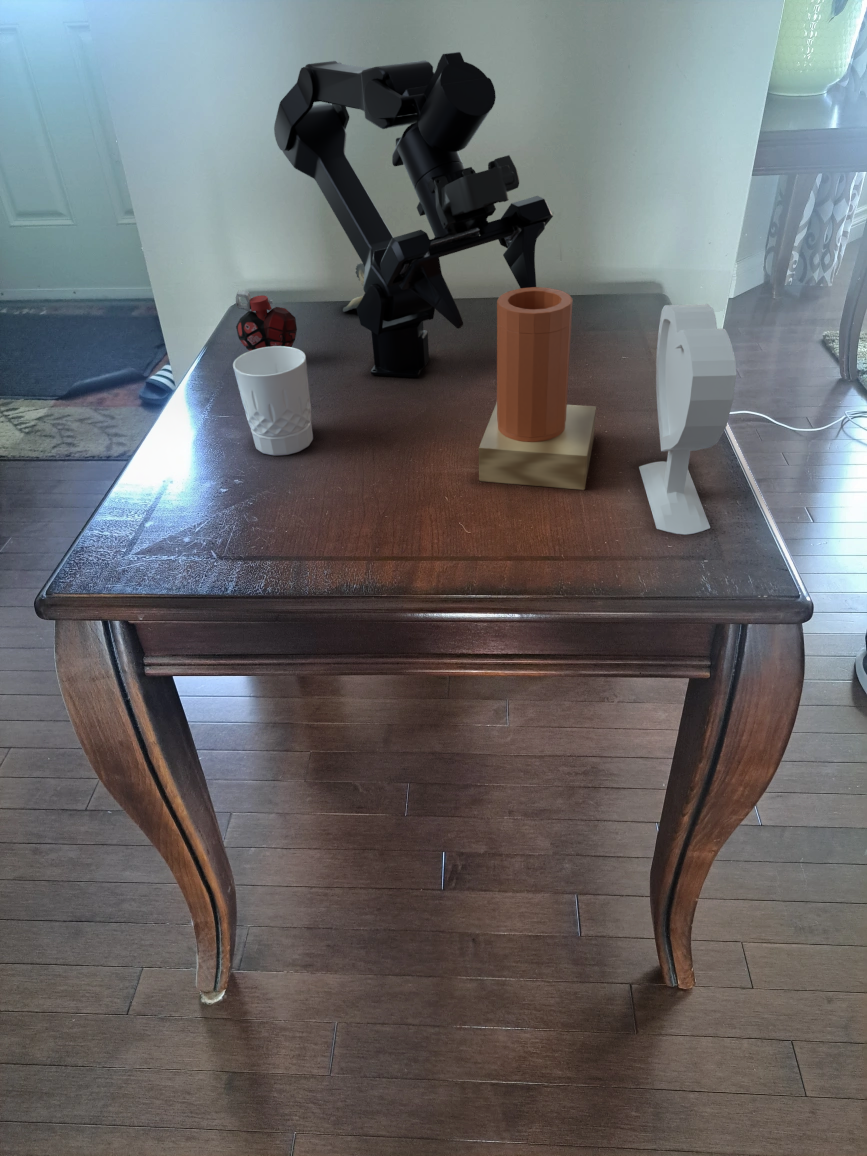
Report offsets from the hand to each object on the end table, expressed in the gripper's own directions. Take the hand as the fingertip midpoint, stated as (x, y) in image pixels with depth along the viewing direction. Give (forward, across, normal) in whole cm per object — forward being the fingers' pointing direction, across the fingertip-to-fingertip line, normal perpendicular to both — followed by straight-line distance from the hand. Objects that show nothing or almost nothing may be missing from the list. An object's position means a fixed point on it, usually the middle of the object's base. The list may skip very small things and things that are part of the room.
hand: (498, 314), depth 88 cm
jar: (+12, -2, 0) cm, 12 cm away
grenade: (-12, -17, +33) cm, 39 cm away
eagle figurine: (-18, +3, +42) cm, 46 cm away
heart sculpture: (+25, +6, -7) cm, 27 cm away
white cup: (+2, -23, +16) cm, 28 cm away
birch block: (+16, -1, +2) cm, 16 cm away
